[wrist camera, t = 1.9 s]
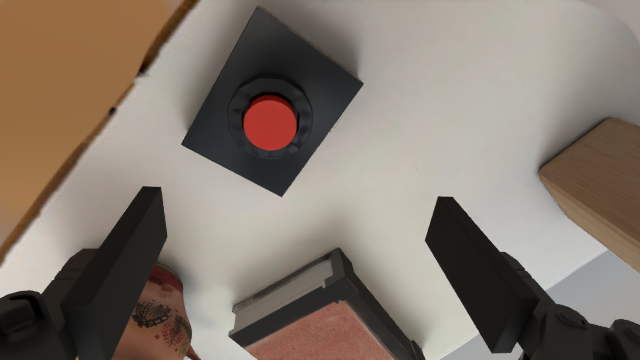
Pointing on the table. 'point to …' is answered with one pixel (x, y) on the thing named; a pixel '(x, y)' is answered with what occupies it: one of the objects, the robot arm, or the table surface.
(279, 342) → the book
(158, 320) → the terracotta mug
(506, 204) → the table surface
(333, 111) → the control block
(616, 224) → the wooden block
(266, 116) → the button
